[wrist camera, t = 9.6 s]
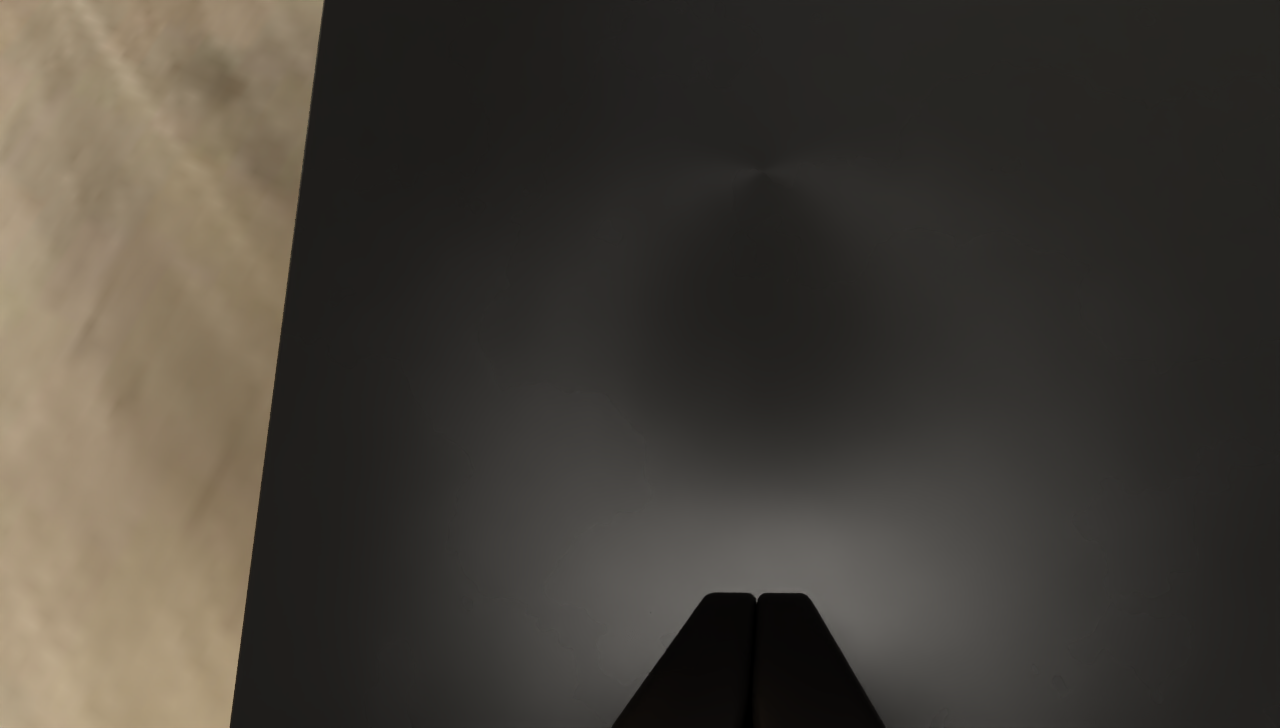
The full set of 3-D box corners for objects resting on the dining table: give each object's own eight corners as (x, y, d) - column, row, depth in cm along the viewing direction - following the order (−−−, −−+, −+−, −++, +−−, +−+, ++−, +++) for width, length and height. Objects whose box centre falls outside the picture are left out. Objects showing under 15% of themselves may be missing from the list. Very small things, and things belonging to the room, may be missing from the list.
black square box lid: (369, -164, 17) (348, -203, 16) (1203, -271, 14) (1224, -322, 14) (260, 741, 12) (224, 747, 12) (1404, 782, 10) (1451, 793, 9)
